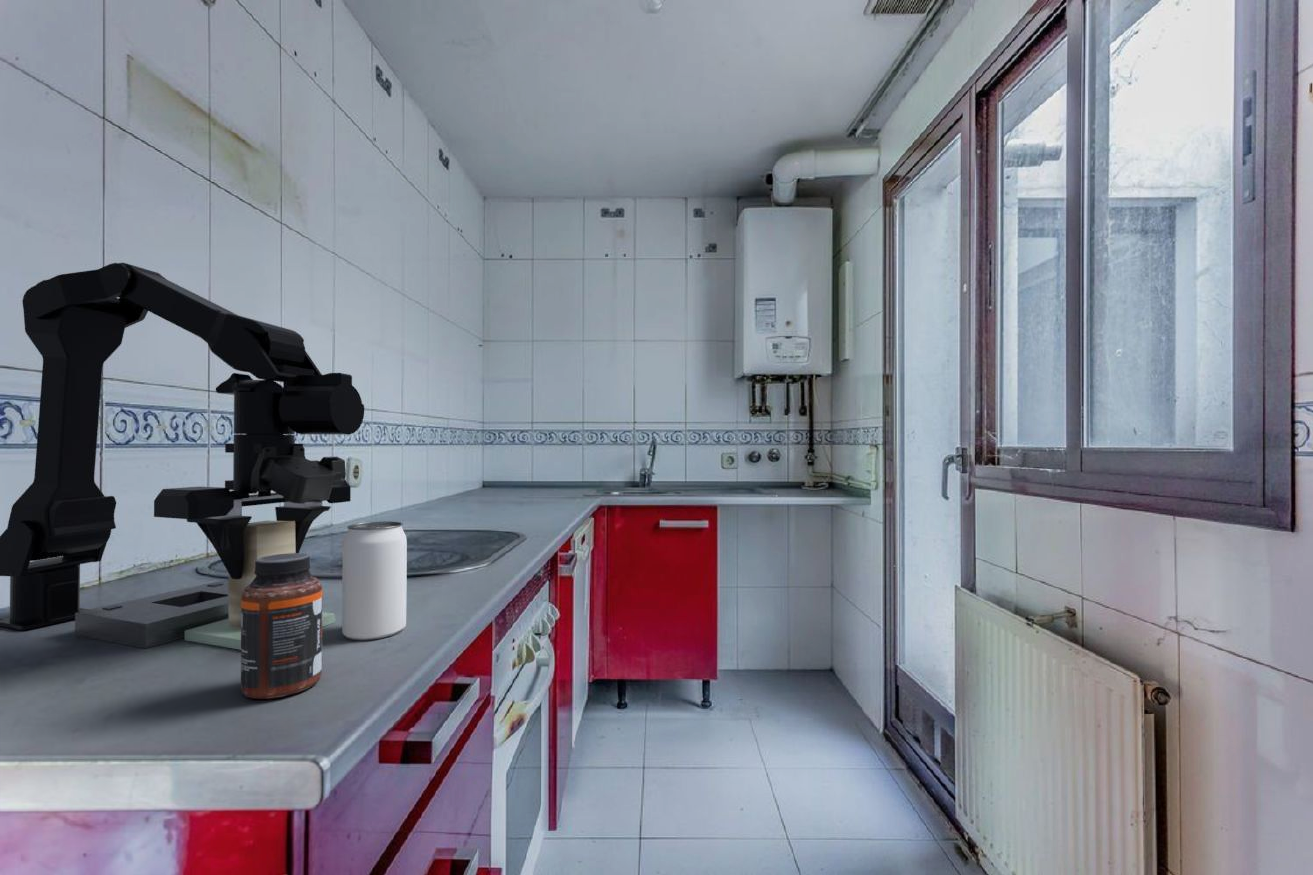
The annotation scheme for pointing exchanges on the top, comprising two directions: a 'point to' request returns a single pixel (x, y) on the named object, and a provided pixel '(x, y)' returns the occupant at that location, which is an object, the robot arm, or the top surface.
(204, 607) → the plate
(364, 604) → the can
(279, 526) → the peg
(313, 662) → the supplement bottle
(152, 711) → the top surface
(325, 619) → the pad
